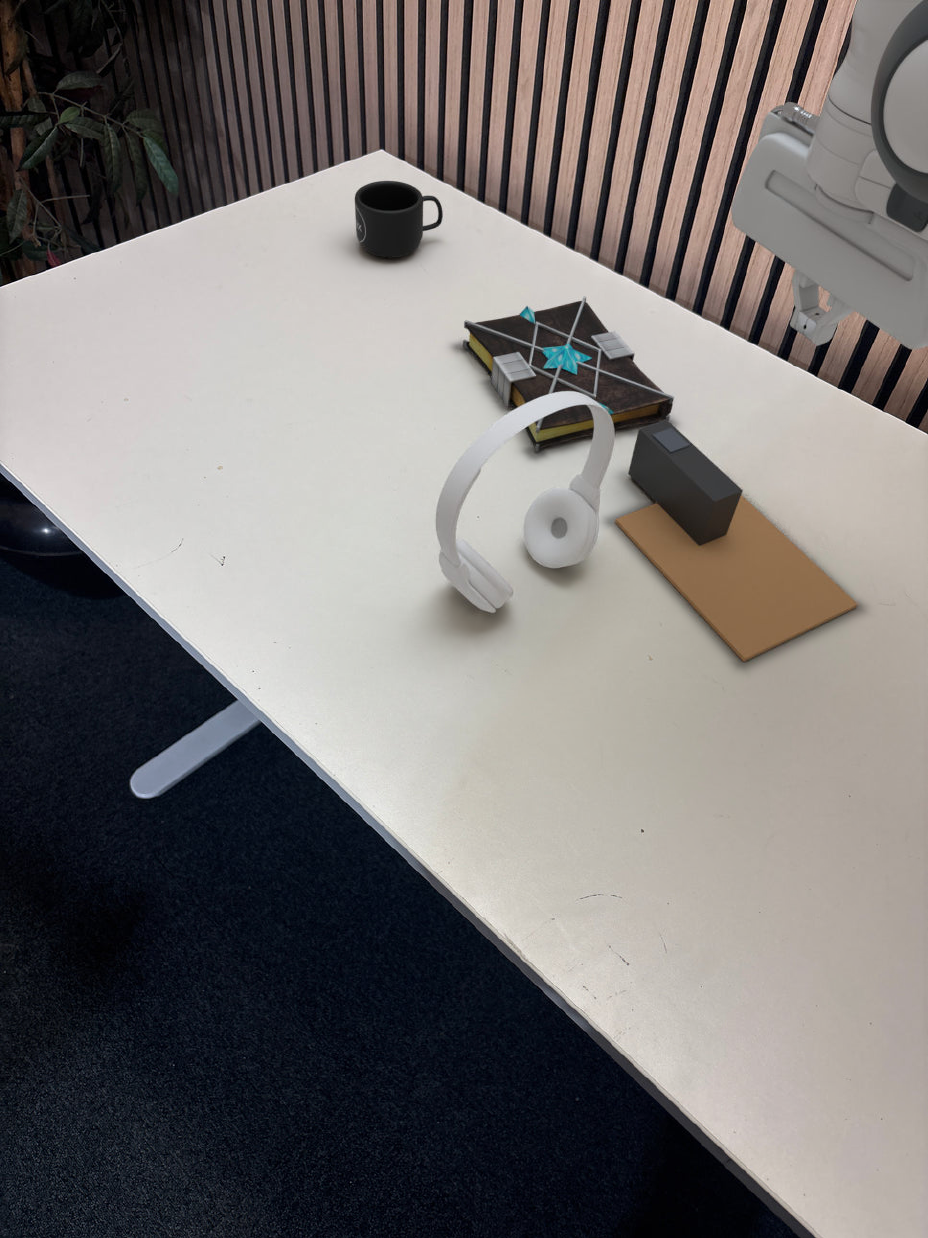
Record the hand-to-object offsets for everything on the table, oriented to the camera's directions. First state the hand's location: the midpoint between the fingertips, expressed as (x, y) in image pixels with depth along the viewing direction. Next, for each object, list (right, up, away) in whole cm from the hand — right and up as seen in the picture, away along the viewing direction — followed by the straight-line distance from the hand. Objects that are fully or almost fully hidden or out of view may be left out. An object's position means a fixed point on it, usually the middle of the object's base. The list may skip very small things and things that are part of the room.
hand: (809, 334), depth 71 cm
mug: (-36, +29, +55) cm, 72 cm away
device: (-2, -12, +18) cm, 22 cm away
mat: (-1, -17, +19) cm, 25 cm away
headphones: (-22, -18, +16) cm, 33 cm away
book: (-15, +5, +37) cm, 40 cm away
